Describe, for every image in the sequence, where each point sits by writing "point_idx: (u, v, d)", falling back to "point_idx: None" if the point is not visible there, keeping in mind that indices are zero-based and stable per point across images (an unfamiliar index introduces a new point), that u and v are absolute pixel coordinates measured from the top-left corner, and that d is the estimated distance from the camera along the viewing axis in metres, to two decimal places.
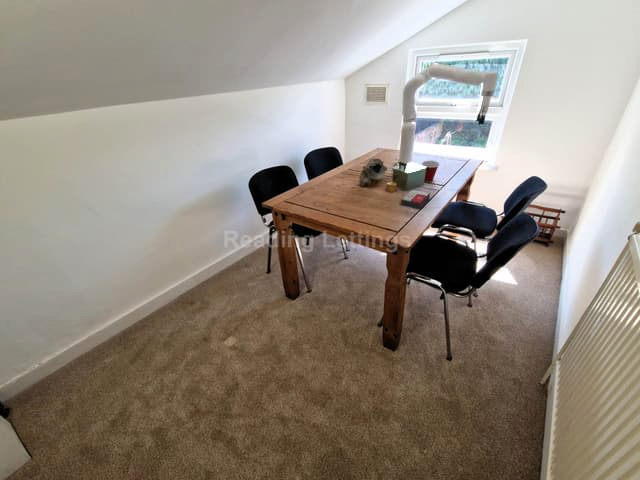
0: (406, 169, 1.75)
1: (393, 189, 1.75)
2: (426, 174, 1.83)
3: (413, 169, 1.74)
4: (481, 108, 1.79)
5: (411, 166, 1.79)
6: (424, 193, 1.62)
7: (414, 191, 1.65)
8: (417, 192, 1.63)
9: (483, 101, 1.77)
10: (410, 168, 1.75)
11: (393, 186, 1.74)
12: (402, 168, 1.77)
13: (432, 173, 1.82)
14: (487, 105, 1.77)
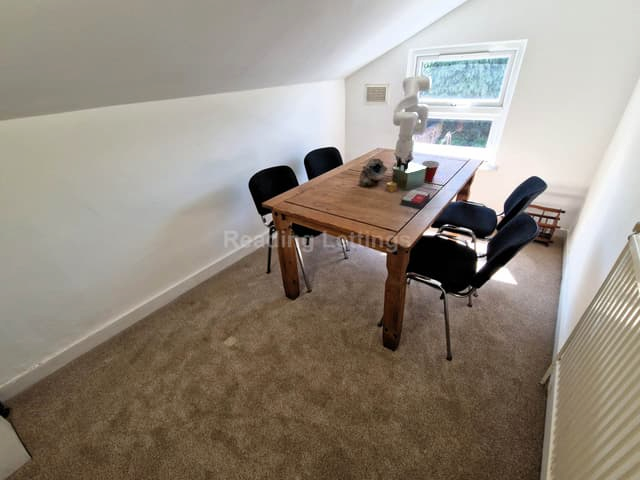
0: (406, 169, 1.75)
1: (393, 189, 1.75)
2: (426, 174, 1.83)
3: (413, 169, 1.74)
4: (408, 153, 1.64)
5: (411, 166, 1.79)
6: (424, 193, 1.62)
7: (414, 191, 1.65)
8: (417, 192, 1.63)
9: (408, 146, 1.63)
10: (410, 168, 1.75)
11: (393, 186, 1.74)
12: (402, 168, 1.77)
13: (432, 173, 1.82)
14: (412, 149, 1.65)
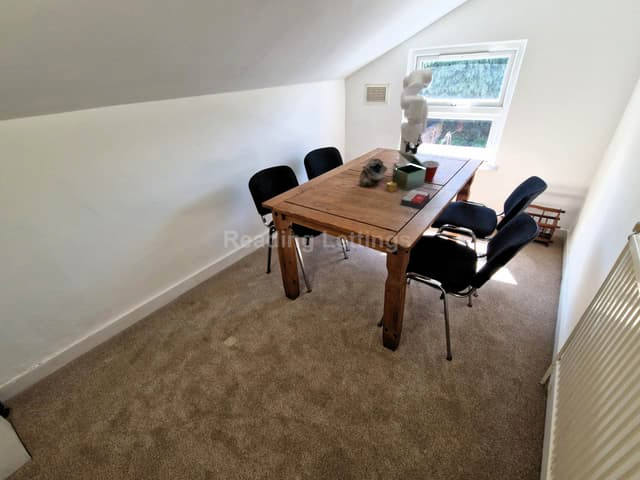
0: None
1: (393, 189, 1.75)
2: (426, 174, 1.83)
3: None
4: (417, 137, 1.62)
5: None
6: (424, 193, 1.62)
7: (414, 191, 1.65)
8: (417, 192, 1.63)
9: (418, 129, 1.61)
10: None
11: (393, 186, 1.74)
12: None
13: (432, 173, 1.82)
14: (421, 133, 1.63)
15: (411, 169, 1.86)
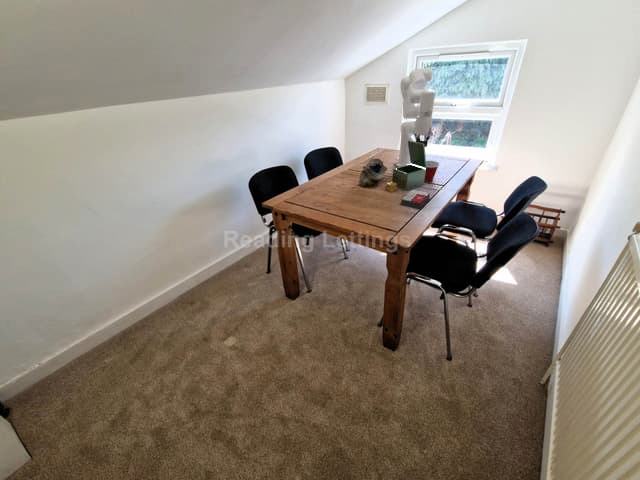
0: None
1: (393, 189, 1.75)
2: (426, 174, 1.83)
3: None
4: (427, 129, 1.64)
5: None
6: (424, 193, 1.62)
7: (414, 191, 1.65)
8: (417, 192, 1.63)
9: (428, 122, 1.63)
10: None
11: (393, 186, 1.74)
12: None
13: (432, 173, 1.82)
14: (431, 126, 1.65)
15: (411, 169, 1.86)
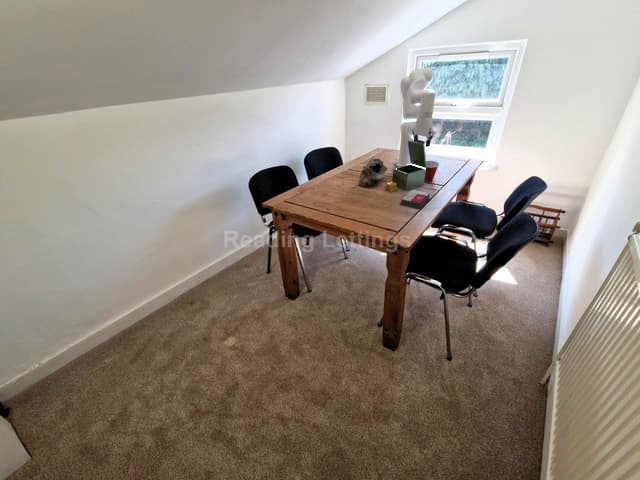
0: None
1: (393, 189, 1.75)
2: (426, 174, 1.83)
3: None
4: (428, 130, 1.65)
5: None
6: (424, 193, 1.62)
7: (414, 191, 1.65)
8: (417, 192, 1.63)
9: (429, 123, 1.63)
10: None
11: (393, 186, 1.74)
12: None
13: (432, 173, 1.82)
14: (432, 126, 1.65)
15: (411, 169, 1.86)
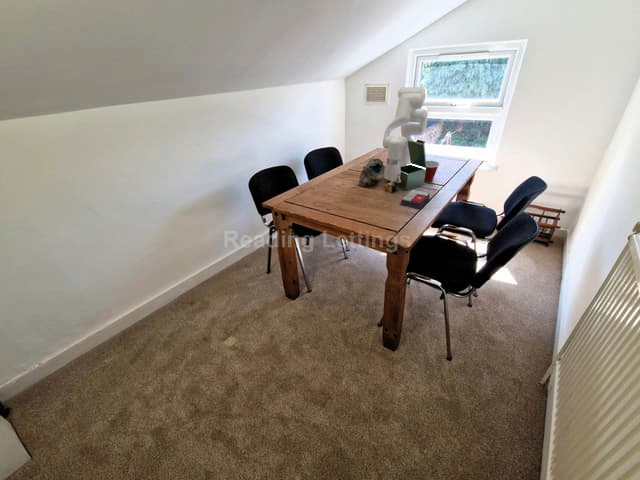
0: None
1: None
2: (426, 174, 1.83)
3: None
4: (396, 176, 1.68)
5: None
6: (424, 193, 1.62)
7: (414, 191, 1.65)
8: (417, 192, 1.63)
9: (396, 170, 1.66)
10: None
11: None
12: None
13: (432, 173, 1.82)
14: (399, 172, 1.68)
15: (411, 169, 1.86)
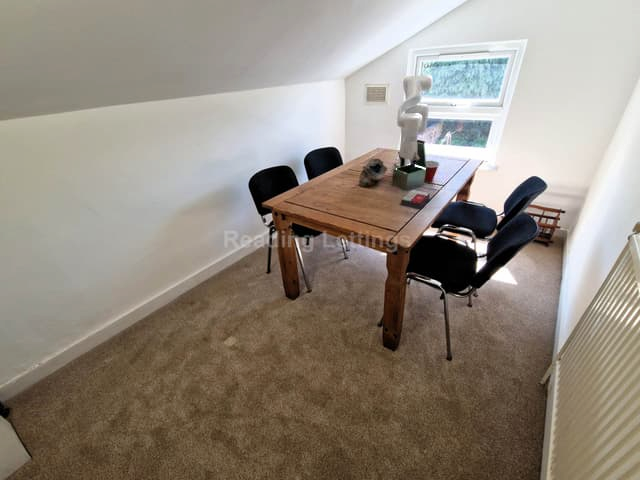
0: None
1: None
2: (426, 174, 1.83)
3: None
4: (412, 154, 1.67)
5: None
6: (424, 193, 1.62)
7: (414, 191, 1.65)
8: (417, 192, 1.63)
9: (413, 147, 1.65)
10: None
11: None
12: None
13: (432, 173, 1.82)
14: (416, 150, 1.67)
15: None
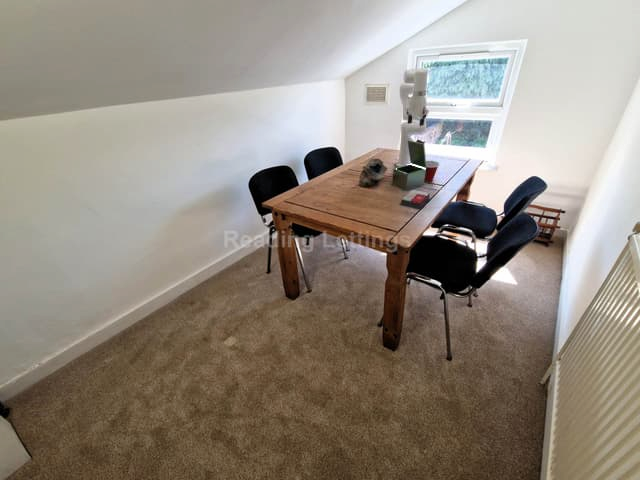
0: None
1: None
2: (426, 174, 1.83)
3: None
4: (421, 109, 1.68)
5: None
6: (424, 193, 1.62)
7: (414, 191, 1.65)
8: (417, 192, 1.63)
9: (422, 101, 1.66)
10: None
11: None
12: None
13: (432, 173, 1.82)
14: (425, 105, 1.69)
15: (411, 169, 1.86)
